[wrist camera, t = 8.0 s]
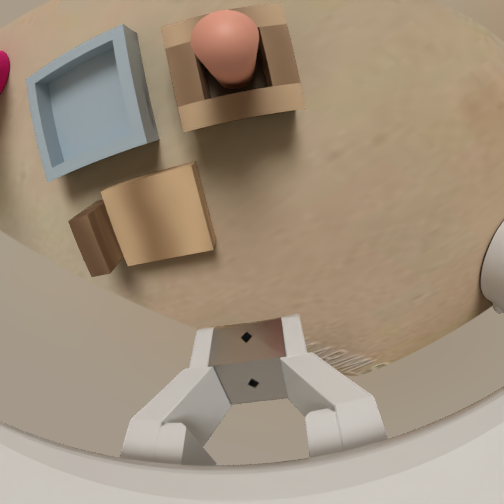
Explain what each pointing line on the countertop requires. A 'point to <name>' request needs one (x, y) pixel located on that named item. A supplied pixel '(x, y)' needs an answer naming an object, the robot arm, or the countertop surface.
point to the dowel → (227, 46)
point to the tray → (91, 103)
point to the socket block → (242, 103)
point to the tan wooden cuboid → (160, 215)
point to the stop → (96, 239)
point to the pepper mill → (3, 69)
